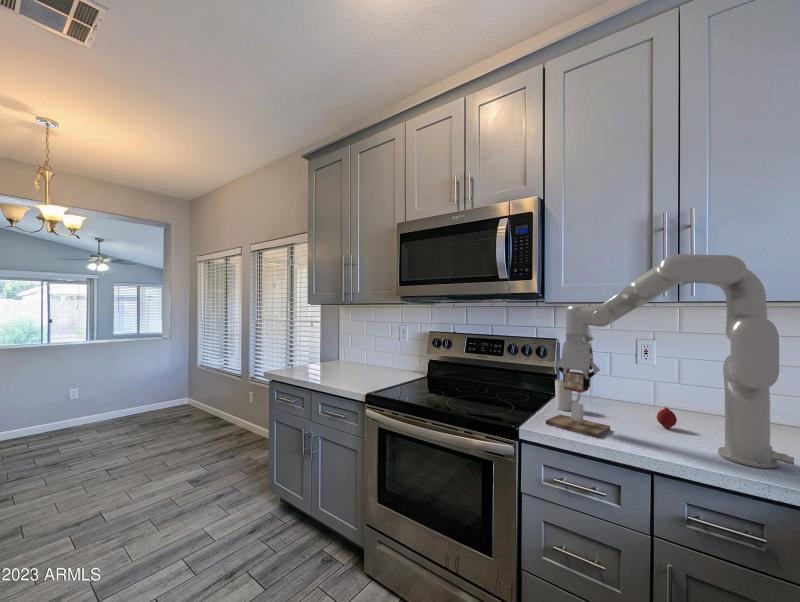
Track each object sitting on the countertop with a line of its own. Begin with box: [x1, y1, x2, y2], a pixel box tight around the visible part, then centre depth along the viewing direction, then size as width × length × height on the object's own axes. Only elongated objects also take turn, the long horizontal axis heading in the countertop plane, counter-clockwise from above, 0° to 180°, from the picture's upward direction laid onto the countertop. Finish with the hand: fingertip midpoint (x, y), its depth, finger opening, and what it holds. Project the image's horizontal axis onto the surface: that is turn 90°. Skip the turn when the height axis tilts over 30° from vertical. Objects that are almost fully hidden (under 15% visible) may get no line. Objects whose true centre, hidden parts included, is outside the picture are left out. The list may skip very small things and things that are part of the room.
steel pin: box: [570, 402, 584, 425], centre depth 130 cm, size 3×3×7 cm
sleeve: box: [564, 370, 589, 394], centre depth 130 cm, size 6×6×6 cm
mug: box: [554, 379, 582, 412], centre depth 152 cm, size 10×7×12 cm, turn 52°
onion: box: [656, 406, 678, 430], centre depth 129 cm, size 6×6×8 cm
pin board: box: [545, 413, 611, 439], centre depth 130 cm, size 18×12×2 cm, turn 41°
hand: (576, 386), depth 130 cm, fingers closed on sleeve, 6 cm apart
